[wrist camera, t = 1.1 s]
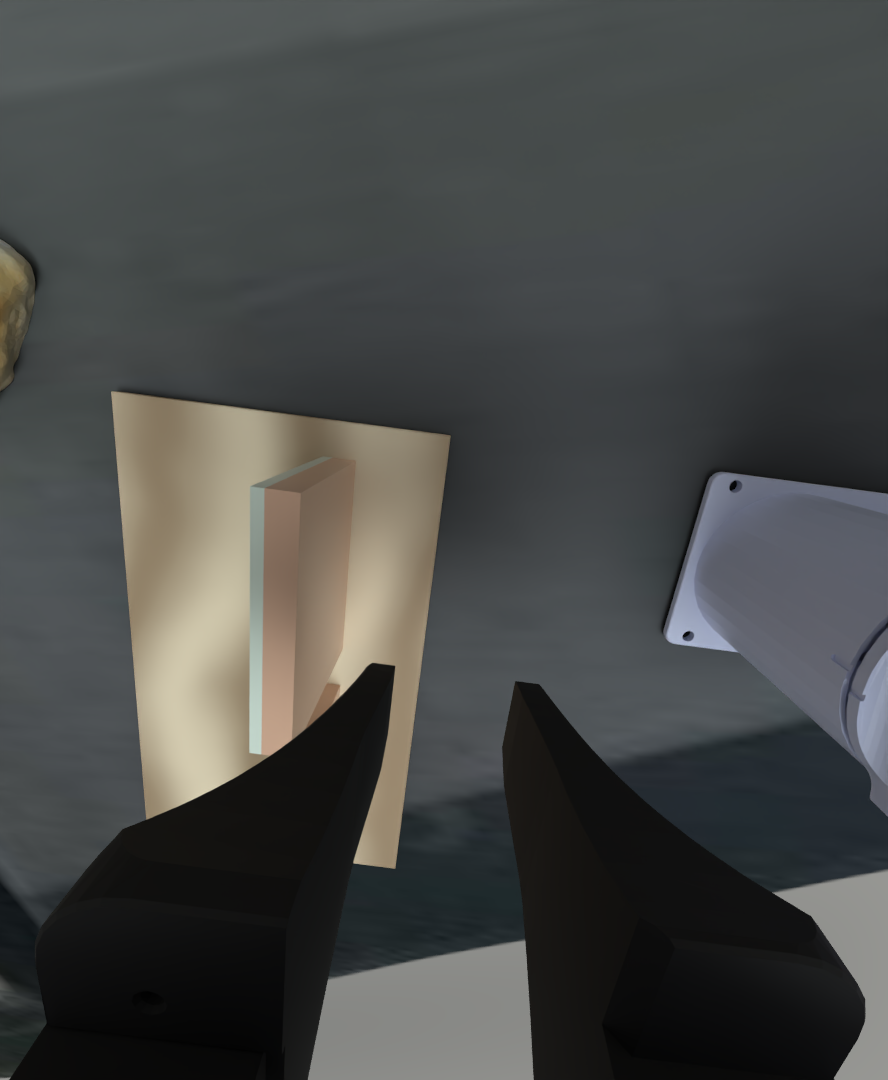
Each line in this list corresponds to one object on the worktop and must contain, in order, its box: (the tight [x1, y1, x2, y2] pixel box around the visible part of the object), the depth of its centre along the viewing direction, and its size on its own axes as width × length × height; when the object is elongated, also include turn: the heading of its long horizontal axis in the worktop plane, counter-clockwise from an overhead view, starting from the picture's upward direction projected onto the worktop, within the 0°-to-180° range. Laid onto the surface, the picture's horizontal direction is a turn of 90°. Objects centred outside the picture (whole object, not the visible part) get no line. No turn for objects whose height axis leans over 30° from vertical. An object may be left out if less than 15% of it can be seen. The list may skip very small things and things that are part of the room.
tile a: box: [249, 456, 356, 756], centre depth 17 cm, size 1×9×7 cm, turn 173°
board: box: [111, 391, 451, 868], centre depth 23 cm, size 14×24×1 cm, turn 173°
